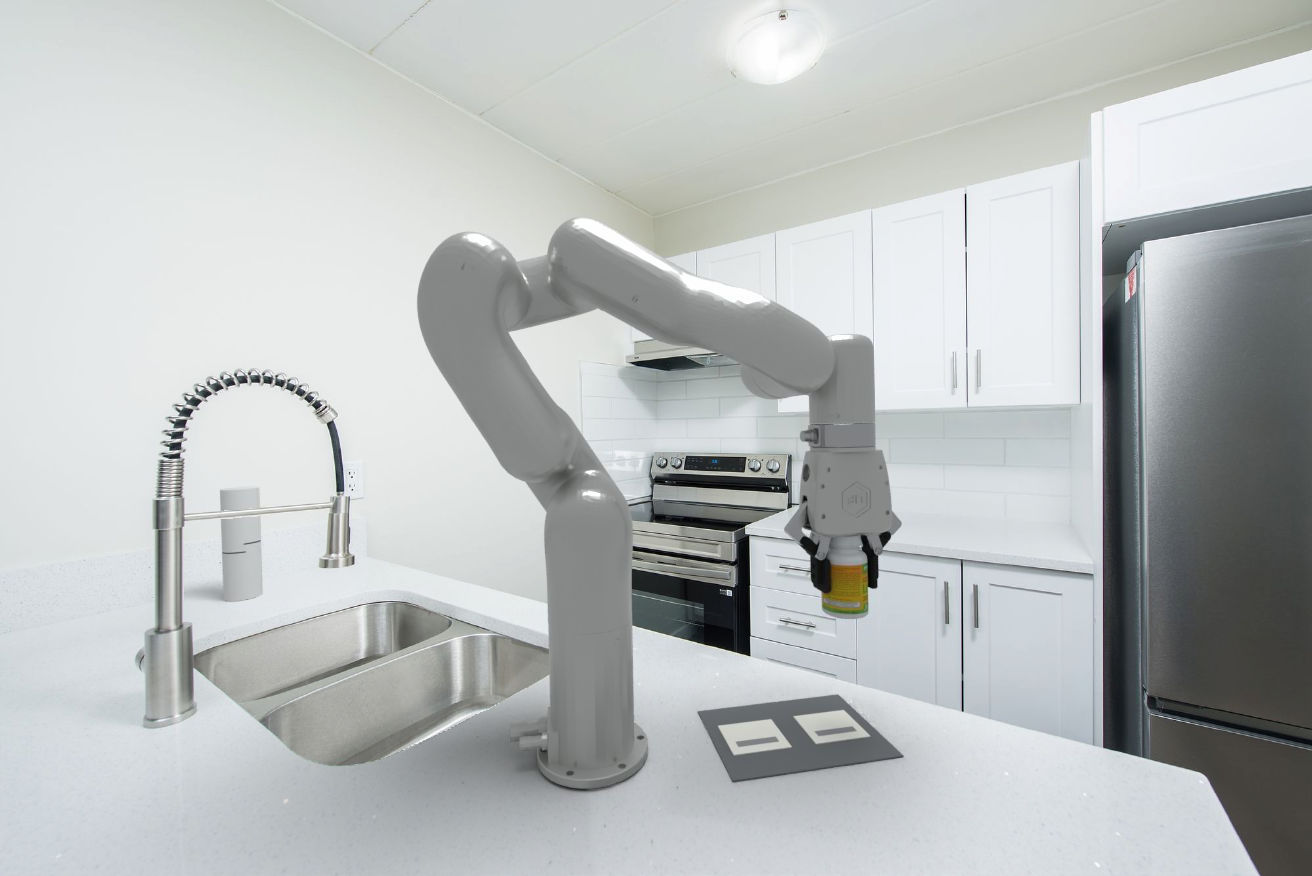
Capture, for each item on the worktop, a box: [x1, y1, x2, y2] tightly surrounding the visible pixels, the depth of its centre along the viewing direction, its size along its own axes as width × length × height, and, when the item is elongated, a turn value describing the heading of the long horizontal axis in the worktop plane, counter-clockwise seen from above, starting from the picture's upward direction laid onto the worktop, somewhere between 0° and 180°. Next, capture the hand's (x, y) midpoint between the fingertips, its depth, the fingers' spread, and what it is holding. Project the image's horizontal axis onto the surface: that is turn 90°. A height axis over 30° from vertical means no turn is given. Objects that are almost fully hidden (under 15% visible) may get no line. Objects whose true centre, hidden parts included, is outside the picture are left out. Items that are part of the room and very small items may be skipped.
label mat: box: [697, 693, 905, 783], centre depth 65 cm, size 20×14×1 cm
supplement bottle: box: [820, 535, 869, 620], centre depth 65 cm, size 5×5×10 cm
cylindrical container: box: [219, 486, 264, 602], centre depth 123 cm, size 7×7×25 cm
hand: (844, 586), depth 65 cm, fingers closed on supplement bottle, 5 cm apart
